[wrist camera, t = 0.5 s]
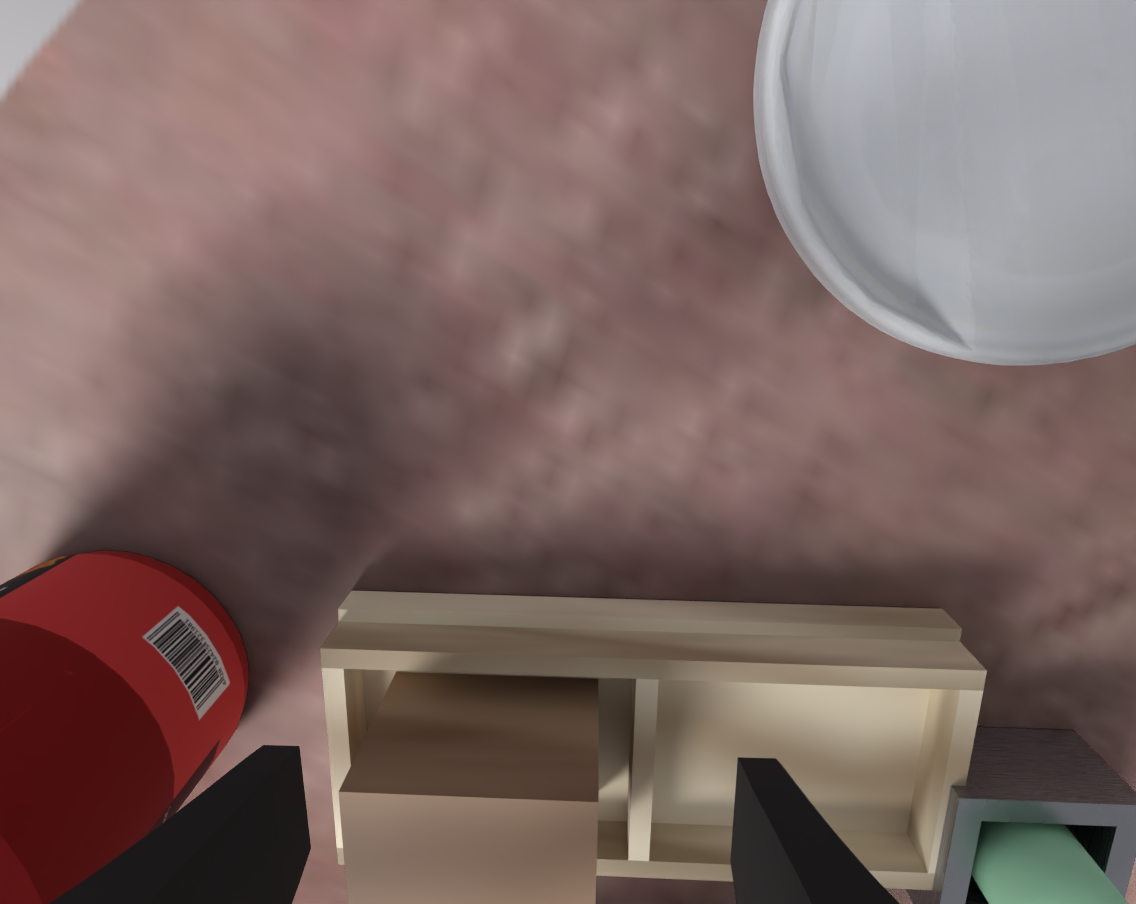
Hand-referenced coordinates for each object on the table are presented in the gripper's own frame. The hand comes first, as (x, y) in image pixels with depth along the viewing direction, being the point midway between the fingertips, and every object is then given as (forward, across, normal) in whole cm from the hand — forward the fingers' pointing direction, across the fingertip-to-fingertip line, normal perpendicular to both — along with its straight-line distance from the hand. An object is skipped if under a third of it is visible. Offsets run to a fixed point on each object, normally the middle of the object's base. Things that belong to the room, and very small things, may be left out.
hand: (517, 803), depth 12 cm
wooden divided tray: (+10, -3, +6) cm, 12 cm away
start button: (+9, -14, +8) cm, 18 cm away
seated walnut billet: (+9, +2, +5) cm, 11 cm away
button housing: (+10, -14, +8) cm, 19 cm away
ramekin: (+11, -10, -12) cm, 19 cm away
